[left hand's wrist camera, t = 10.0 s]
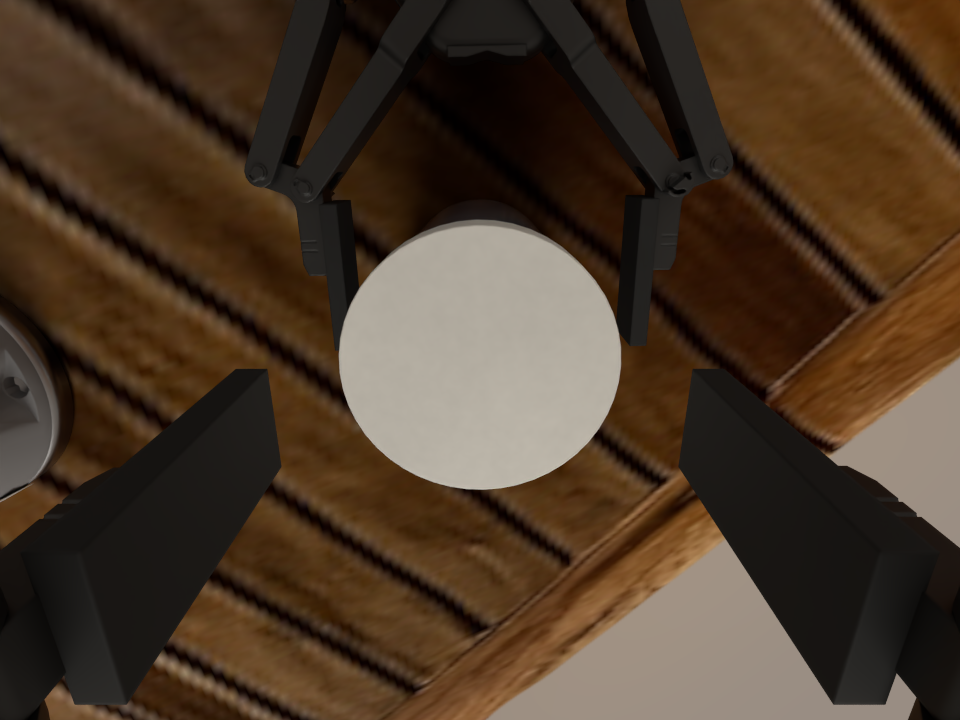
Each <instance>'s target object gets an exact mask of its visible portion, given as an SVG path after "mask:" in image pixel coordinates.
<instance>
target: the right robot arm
mask: <svg viewBox="0 0 960 720" xmlns="http://www.w3.org/2000/svg"><path fill="white" fill-rule="evenodd" d="M356 1H357V0H296V2H295V6H294V9H293V12H292V15H291V19H290V22H289V25H288V28H287V31H286V35H285V38H284V41H283V44H282V48H281V51H280V54H279V57H278V61H277V64H276V67H275V70H274V74H273V77H272V80H271V83H270V87H269V90H268V93H267V96H266V99H265V103H264V106H263V109H262V112H261V116H260V119H259V122H258V125H257V129H256V132H255V135H254V138H253V142H252V145H251V148H250V151H249V155H248V158H247V161H246V164H245V171H244V172H245V175H246V178H247V179H248V181H249V182H250V183H251V184H253V185H254V186H257V187H265V188H268V189H271V190H274V191H276V192H279V193H282V194H284V195H286V196H288V197H289V198H290V199H291V200H292V201H293V203H294V205H295V207H296V210H297V217H298V225H299V233H300V240H301V248H302V256H303V264H304V266H305V268H306V270H307V272H308V274H309V276H324V275H327V283H328V292H329V300H330V309H331V318H332V326H333V335H334V344H335V350H339V347H340V337H341V332H342V328H343V324H344V320H345V317H346V315H347V312H348V309H349V307H350V304H351V302H352V301H353V299H354V297H355V295H356V293H357V292H358V290H359V283H358V272H357V262H356V251H355V241H354V230H353V220H352V209H351V200H334V201H332V198H331V197H332V196H333V195H334V194H335V193H334V192H333V191H334V189H335V188H336V186H337V185H338V183H339V182H340V180H341V179H342V178H343V176H344V175H345V173H346V172H347V170H348V169H349V167H350V166H351V165H352V163H353V162H354V160H355V159H356V157H357V156H358V154H359V153H360V152H361V150H362V149H363V147H364V146H365V144H366V143H367V141H368V140H369V139H370V137H371V136H372V134H373V133H374V131H375V130H376V128H377V127H378V126H379V124H380V123H381V121H382V120H383V118H384V117H385V115H386V114H387V113H388V111H389V110H390V108H391V107H392V105H393V104H394V102H395V101H396V100H397V98H398V97H399V95H400V94H401V92H402V91H403V89H404V88H405V87H406V85H407V84H408V82H409V81H410V80H411V79H412V78H413V77H414V76H415V75H416V74H417V73H418V71H419V70H420V69H421V67H422V66H423V64H424V63H425V61H426V60H427V58H428V57H429V56H430V54H431V53H433V54H434V55H435V56H436V57H438V58H439V59H441V60H443V61H445V62H448V63H450V66H462V65H471V64H474V63H477V62H480V61H483V60H490V61H494V62H497V63H501V64H504V65H515V64H523V63H524V61H527V60H529V59H531V58H533V57H534V56H536V55H537V54H538V53H539V52H541V51H542V53H543V54H544V55H545V57H546V58H547V59H548V61H549V62H550V64H551V65H552V66H553V68H554V69H555V70H556V71H557V72H558V73H559V74H560V75H561V76H563V78H564V79H565V80H566V81H567V83H568V84H569V85H570V87H571V88H572V90H573V91H574V92H575V94H576V95H577V96H578V98H579V99H580V100H581V102H582V103H583V104H584V106H585V107H586V109H587V110H588V111H589V113H590V114H591V115H592V117H593V118H594V119H595V121H596V122H597V124H598V125H599V126H600V128H601V129H602V130H603V132H604V133H605V134H606V136H607V137H608V138H609V140H610V141H611V143H612V144H613V145H614V147H615V148H616V149H617V151H618V152H619V153H620V155H621V156H622V158H623V159H624V160H625V162H626V163H627V164H628V166H629V167H630V168H631V170H632V171H633V172H634V174H635V175H636V177H637V178H638V179H639V181H640V182H641V183H642V185H643V186H644V187H645V196H644V195H626V198H625V212H624V225H623V239H622V253H621V267H620V280H619V294H618V308H617V321H616V324H617V327H618V331H619V333H620V334H621V336H622V337H623V338H624V339H625V341H626V342H627V343H628V344H629V345H630V346H646V341H647V331H648V320H649V309H650V299H651V288H652V277H653V270H670V268H671V266H672V264H673V262H674V260H675V257H676V248H677V246H676V245H677V238H678V237H677V235H678V229H679V220H680V211H681V203H682V199H683V197H684V196H685V195H687V194H688V193H689V192H690V191H691V190H692V188H693V187H695V186H697V185H700V184H702V183H705V182H708V181H710V180H713V179H720V178H723V177H725V176H726V175H727V174H729V172H730V171H731V169H732V166H733V157H732V154H731V151H730V148H729V145H728V142H727V139H726V136H725V133H724V130H723V127H722V124H721V121H720V118H719V115H718V112H717V109H716V106H715V103H714V100H713V97H712V94H711V91H710V88H709V85H708V82H707V79H706V76H705V73H704V70H703V68H702V65H701V62H700V59H699V56H698V53H697V50H696V47H695V44H694V41H693V38H692V35H691V32H690V29H689V26H688V23H687V20H686V17H685V14H684V11H683V8H682V5H681V2H680V0H626V6H627V11H628V17H629V20H630V23H631V26H632V30H633V32H634V35H635V38H636V40H637V43H638V46H639V49H640V51H641V54H642V57H643V59H644V62H645V65H646V68H647V70H648V73H649V76H650V78H651V81H652V84H653V87H654V89H655V92H656V95H657V98H658V100H659V103H660V106H661V108H662V111H663V114H664V117H665V119H666V122H667V125H668V127H669V130H670V133H671V136H672V138H673V141H674V144H675V146H676V149H677V152H678V155H679V157H680V158H676V157H675V155H674V154H673V153H672V151H671V150H670V148H669V147H668V145H667V144H666V143H665V141H664V140H663V138H662V137H661V136H660V134H659V133H658V131H657V130H656V128H655V127H654V126H653V124H652V123H651V121H650V120H649V118H648V117H647V116H646V114H645V113H644V111H643V110H642V109H641V107H640V106H639V104H638V103H637V101H636V100H635V99H634V97H633V96H632V94H631V93H630V91H629V90H628V89H627V87H626V86H625V84H624V83H623V82H622V80H621V79H620V77H619V76H618V74H617V73H616V72H615V70H614V69H613V67H612V66H611V64H610V63H609V62H608V60H607V59H606V57H605V56H604V54H603V53H602V52H601V50H600V49H599V47H598V46H597V44H596V41H595V37H594V35H593V33H592V31H591V30H590V28H589V27H588V25H587V24H586V22H585V21H584V19H583V18H582V17H581V15H580V14H579V12H578V11H577V9H576V8H575V7H574V5H573V2H574V1H575V0H395V1H396V2H397V4H398V5H399V7H400V10H399V11H398V13H397V14H396V16H395V18H394V19H393V21H392V22H391V24H390V25H389V27H388V28H387V30H386V31H385V33H384V34H383V36H382V38H381V40H380V43H379V47H378V49H377V51H376V52H375V54H374V55H373V57H372V58H371V60H370V61H369V63H368V65H367V66H366V68H365V69H364V71H363V72H362V74H361V75H360V77H359V78H358V80H357V81H356V83H355V84H354V86H353V87H352V89H351V90H350V92H349V93H348V95H347V96H346V98H345V99H344V101H343V102H342V104H341V105H340V107H339V108H338V110H337V111H336V113H335V114H334V116H333V117H332V119H331V120H330V122H329V123H328V125H327V126H326V128H325V129H324V131H323V132H322V134H321V135H320V137H319V138H318V140H317V141H316V143H315V145H314V146H313V148H312V149H311V151H310V152H309V154H308V155H307V157H306V158H305V160H304V161H303V163H302V164H301V166H299V165H297V164H296V163H297V160H298V157H299V154H300V151H301V148H302V146H303V143H304V140H305V137H306V134H307V131H308V128H309V125H310V122H311V119H312V116H313V113H314V110H315V107H316V104H317V101H318V98H319V95H320V92H321V90H322V87H323V84H324V81H325V78H326V75H327V72H328V69H329V66H330V63H331V60H332V57H333V54H334V51H335V48H336V45H337V42H338V39H339V36H340V33H341V30H342V26H343V23H344V17H345V11H346V4H352V3H355V2H356Z"/></svg>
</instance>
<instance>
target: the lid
mask: <svg viewBox="0 0 960 720" xmlns="http://www.w3.org/2000/svg"><path fill="white" fill-rule="evenodd" d="M339 368H340V376H341V381H342V386H343V391H344V394H345V396H346V399H347V402H348V405H349V407H350V409H351V411H352V413H353V415H354V417H355V419H356V421H357V423H358V424H359V426H360V427H361V429H362V430H363V431H364V433H365V434H366V436H367V437H368V438H369V439H370V440H371V441H372V443H373V444H374V445H375V446H376V447H377V448H378V449H379V450H380V451H381V452H383V453H384V454H385V455H386V456H387V457H388V458H389V459H391V460H392V461H394V462H395V463H396V464H398V465H399V466H401V467H402V468H404V469H406V470H408V471H409V472H411V473H413V474H415V475H417V476H419V477H422V478H424V479H427V480H429V481H432V482H435V483H439V484H443V485H446V486H450V487H457V488H464V489H495V488H503V487H509V486H514V485H518V484H521V483H524V482H528V481H531V480H534V479H536V478H538V477H540V476H543V475H545V474H547V473H549V472H551V471H552V470H554V469H556V468H557V467H559V466H561V465H562V464H564V463H565V462H566V461H568V460H569V459H570V458H572V457H573V456H574V455H576V454H577V453H578V452H579V451H580V450H581V449H582V448H583V447H584V446H585V445H586V444H587V443H588V442H589V440H590V439H591V438H592V437H593V435H594V434H595V433H596V432H597V430H598V429H599V427H600V426H601V424H602V422H603V421H604V419H605V417H606V416H607V414H608V412H609V409H610V407H611V405H612V402H613V400H614V397H615V393H616V390H617V386H618V383H619V376H620V369H621V345H620V338H619V331H618V327H617V324H616V321H615V317H614V314H613V311H612V309H611V307H610V305H609V303H608V301H607V298H606V296H605V295H604V293H603V292H602V290H601V289H600V287H599V285H598V284H597V282H596V281H595V280H594V279H593V277H592V276H591V275H590V274H589V273H588V272H587V270H586V269H585V268H584V267H583V266H582V265H581V264H580V263H579V262H578V261H577V260H576V259H575V258H574V257H573V256H572V255H571V254H570V253H568V252H567V251H566V250H565V249H564V248H563V247H561V246H560V245H558V244H557V243H555V242H554V241H552V240H551V239H549V238H548V237H546V236H544V235H542V234H540V233H538V232H535V231H533V230H531V229H529V228H525V227H522V226H519V225H516V224H513V223H507V222H501V221H496V220H467V221H457V222H453V223H449V224H444V225H440V226H437V227H435V228H432V229H429V230H427V231H424V232H422V233H420V234H418V235H416V236H415V237H413V238H411V239H409V240H407V241H406V242H404V243H403V244H402V245H400V246H399V247H398V248H396V249H395V250H394V251H392V252H391V253H390V254H389V255H388V256H387V257H386V258H385V259H384V260H383V261H382V262H381V263H380V264H379V265H378V266H377V267H376V268H375V269H374V270H373V271H372V272H371V273H370V275H369V276H368V277H367V279H366V280H365V281H364V283H363V284H362V285H361V287H360V288H359V290H358V292H357V293H356V295H355V297H354V299H353V301H352V302H351V304H350V307H349V309H348V312H347V315H346V317H345V320H344V324H343V328H342V332H341V337H340V347H339Z"/></svg>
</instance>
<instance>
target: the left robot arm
mask: <svg viewBox="0 0 960 720" xmlns="http://www.w3.org/2000/svg"><path fill="white" fill-rule="evenodd" d="M73 415H74V411H73V400H72V394H71V389H70V386H69V382H68V379H67V376H66V374H65V371H64V369H63V367H62V365H61V363H60V361H59V359H58V357H57V355H56V353H55V352H54V350H53V348H52V347H51V345H50V344H49V343H48V341H47V340H46V338H45V337H44V336H43V335H42V333H41V332H40V331H39V330H38V329H37V327H36V326H35V325H34V324H33V323H32V322H31V321H30V320H29V319H28V318H27V317H26V316H25V315H24V314H23V313H22V312H20V311H19V310H18V309H17V308H16V307H15V306H14V305H12V304H11V303H10V302H8V301H7V300H6V299H4V298H3V297H2V296H0V500H1V499H2V500H1V501H3V500H5V499H7V498H9V497H10V496H12V495H14V494H16V493H17V492H19V491H21V490H23V489H25V488H26V487H25V486H27V485H28V484H30V483H31V482H32V481H34V480H35V479H37V478H38V477H39V476H41V475H42V474H44V473H45V472H46V471H47V470H49V469H50V468H51V467H52V466H53V465H54V464H55V463H56V462H57V460H58V459H59V458H60V456H61V455H62V453H63V452H64V450H65V448H66V446H67V444H68V442H69V439H70V435H71V432H72V426H73ZM280 468H281V460H280V454H279V447H278V440H277V433H276V426H275V419H274V412H273V405H272V399H271V392H270V385H269V378H268V371H267V369H235V370H234V371H233V372H232V373H231V374H230V375H228V376H227V377H226V378H225V379H224V380H222V381H221V382H220V383H219V384H218V385H217V386H215V387H214V388H213V389H212V390H211V391H210V392H208V393H207V394H206V395H205V396H204V397H202V398H201V399H200V400H199V401H198V402H197V403H195V404H194V405H193V406H192V407H191V408H190V409H188V410H187V411H186V412H185V413H184V414H182V415H181V416H180V417H179V418H178V419H177V420H175V421H174V422H173V423H172V424H171V425H169V426H168V427H167V428H166V429H165V430H164V431H162V432H161V433H160V434H159V435H158V436H157V437H155V438H154V439H153V440H152V441H151V442H149V443H148V444H147V445H146V446H145V447H144V448H142V449H141V450H140V451H139V452H138V453H137V454H135V455H134V456H133V457H132V458H131V459H129V460H128V461H127V462H126V463H125V464H124V465H122V466H121V467H120V468H112V469H110V470H108V471H106V472H104V473H102V474H100V475H98V476H96V477H95V478H93V479H91V480H89V481H87V482H85V483H83V484H82V485H81V486H80V487H78V488H77V489H76V490H75V491H73V492H72V493H71V494H70V495H69V496H67V497H66V498H65V499H64V500H62V501H63V502H62V504H57V505H56V506H55V507H54V508H52V509H51V510H50V511H49V512H48V513H46V514H45V515H44V519H39V520H38V521H36V522H35V523H34V524H33V525H32V526H30V527H29V528H28V529H27V530H25V531H24V532H23V533H22V534H20V535H19V536H18V537H17V538H16V539H14V540H13V541H12V542H11V543H9V544H8V545H7V546H6V547H4V548H3V549H2V550H1V551H0V720H50V718H49V712H48V708H47V706H46V703H45V700H44V699H45V698H46V697H47V695H48V694H49V693H50V692H51V691H52V689H53V688H54V687H55V686H56V684H57V683H58V682H59V681H60V679H61V678H62V677H63V676H65V679H66V682H67V684H68V687H69V690H70V693H71V696H72V698H73V701H74V704H75V705H127V703H128V701H129V700H130V698H131V697H132V695H133V694H134V692H135V691H136V689H137V688H138V686H139V685H140V683H141V682H142V680H143V678H144V677H145V675H146V674H147V672H148V671H149V669H150V668H151V666H152V665H153V663H154V662H155V660H156V659H157V657H158V655H159V654H160V652H161V651H162V649H163V648H164V646H165V645H166V643H167V642H168V640H169V639H170V637H171V635H172V634H173V632H174V631H175V629H176V628H177V626H178V625H179V623H180V622H181V620H182V619H183V617H184V616H185V614H186V612H187V611H188V609H189V608H190V606H191V605H192V603H193V602H194V600H195V599H196V597H197V596H198V594H199V592H200V591H201V589H202V588H203V586H204V585H205V583H206V582H207V580H208V579H209V577H210V576H211V574H212V573H213V571H214V569H215V568H216V566H217V565H218V563H219V562H220V560H221V559H222V557H223V556H224V554H225V553H226V551H227V549H228V548H229V546H230V545H231V543H232V542H233V540H234V539H235V537H236V536H237V534H238V533H239V531H240V530H241V528H242V526H243V525H244V523H245V522H246V520H247V519H248V517H249V516H250V514H251V513H252V511H253V510H254V508H255V506H256V505H257V503H258V502H259V500H260V499H261V497H262V496H263V494H264V493H265V491H266V490H267V488H268V487H269V485H270V483H271V482H272V480H273V479H274V477H275V476H276V474H277V473H278V471H279V470H280ZM679 468H680V470H681V471H682V473H683V474H684V476H685V477H686V479H687V480H688V482H689V483H690V485H691V487H692V488H693V490H694V491H695V493H696V494H697V496H698V497H699V499H700V500H701V502H702V503H703V505H704V506H705V508H706V510H707V511H708V513H709V514H710V516H711V517H712V519H713V520H714V522H715V523H716V525H717V526H718V528H719V530H720V531H721V533H722V534H723V536H724V537H725V539H726V540H727V542H728V543H729V545H730V546H731V548H732V549H733V551H734V553H735V554H736V556H737V557H738V559H739V560H740V562H741V563H742V565H743V566H744V568H745V569H746V571H747V573H748V574H749V575H750V577H751V579H752V580H753V582H754V583H755V585H756V586H757V588H758V589H759V591H760V592H761V594H762V595H763V597H764V599H765V600H766V602H767V603H768V605H769V606H770V608H771V609H772V611H773V612H774V614H775V615H776V617H777V619H778V620H779V622H780V623H781V625H782V626H783V628H784V629H785V631H786V632H787V634H788V635H789V637H790V638H791V640H792V642H793V643H794V645H795V646H796V648H797V649H798V651H799V652H800V654H801V655H802V657H803V658H804V660H805V662H806V663H807V665H808V666H809V668H810V669H811V671H812V672H813V674H814V675H815V677H816V678H817V680H818V682H819V683H820V685H821V686H822V688H823V689H824V691H825V692H826V694H827V695H828V697H829V698H830V700H831V701H832V703H833V704H834V705H885V704H886V701H887V698H888V696H889V693H890V690H891V687H892V684H893V682H894V679H895V676H896V673H897V674H898V675H899V676H900V677H901V679H902V680H903V681H904V682H905V684H906V685H907V686H908V687H909V689H910V690H911V691H912V692H913V694H914V695H915V696H916V697H917V698H916V700H915V703H914V706H913V708H912V711H911V713H910V716H909V719H908V720H960V548H959V547H958V546H957V545H955V544H954V543H953V542H952V541H950V540H949V539H948V538H947V537H946V536H944V535H943V534H942V533H941V532H939V531H938V530H937V529H936V528H934V527H933V526H932V525H931V524H929V523H928V522H927V521H926V520H924V519H923V518H922V517H917V515H916V512H914V511H913V510H912V509H911V508H909V507H908V506H907V505H906V504H904V503H903V502H899V501H898V498H897V497H896V496H895V495H893V494H892V493H891V492H889V491H888V490H887V489H886V488H885V487H883V486H882V485H881V484H880V483H878V482H877V481H876V480H874V479H872V478H870V477H868V476H866V475H864V474H862V473H860V472H858V471H856V470H854V469H852V468H850V467H848V466H838V465H836V464H835V463H834V462H833V461H832V460H831V459H829V458H828V457H827V456H826V455H825V454H823V453H822V452H821V451H820V450H819V449H818V448H816V447H815V446H814V445H813V444H812V443H811V442H809V441H808V440H807V439H806V438H805V437H803V436H802V435H801V434H800V433H799V432H798V431H796V430H795V429H794V428H793V427H792V426H791V425H789V424H788V423H787V422H786V421H785V420H783V419H782V418H781V417H780V416H779V415H778V414H776V413H775V412H774V411H773V410H772V409H770V408H769V407H768V406H767V405H766V404H765V403H763V402H762V401H761V400H760V399H759V398H758V397H756V396H755V395H754V394H753V393H752V392H750V391H749V390H748V389H747V388H746V387H745V386H743V385H742V384H741V383H740V382H739V381H738V380H736V379H735V378H734V377H733V376H732V375H730V374H729V373H728V372H727V371H726V370H725V369H693V371H692V378H691V385H690V392H689V399H688V405H687V412H686V419H685V426H684V433H683V440H682V447H681V454H680V460H679ZM31 485H32V484H31ZM29 486H30V485H29ZM24 487H25V488H24ZM27 487H28V486H27ZM22 488H23V489H22ZM3 498H4V499H3ZM1 501H0V502H1Z"/></svg>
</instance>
